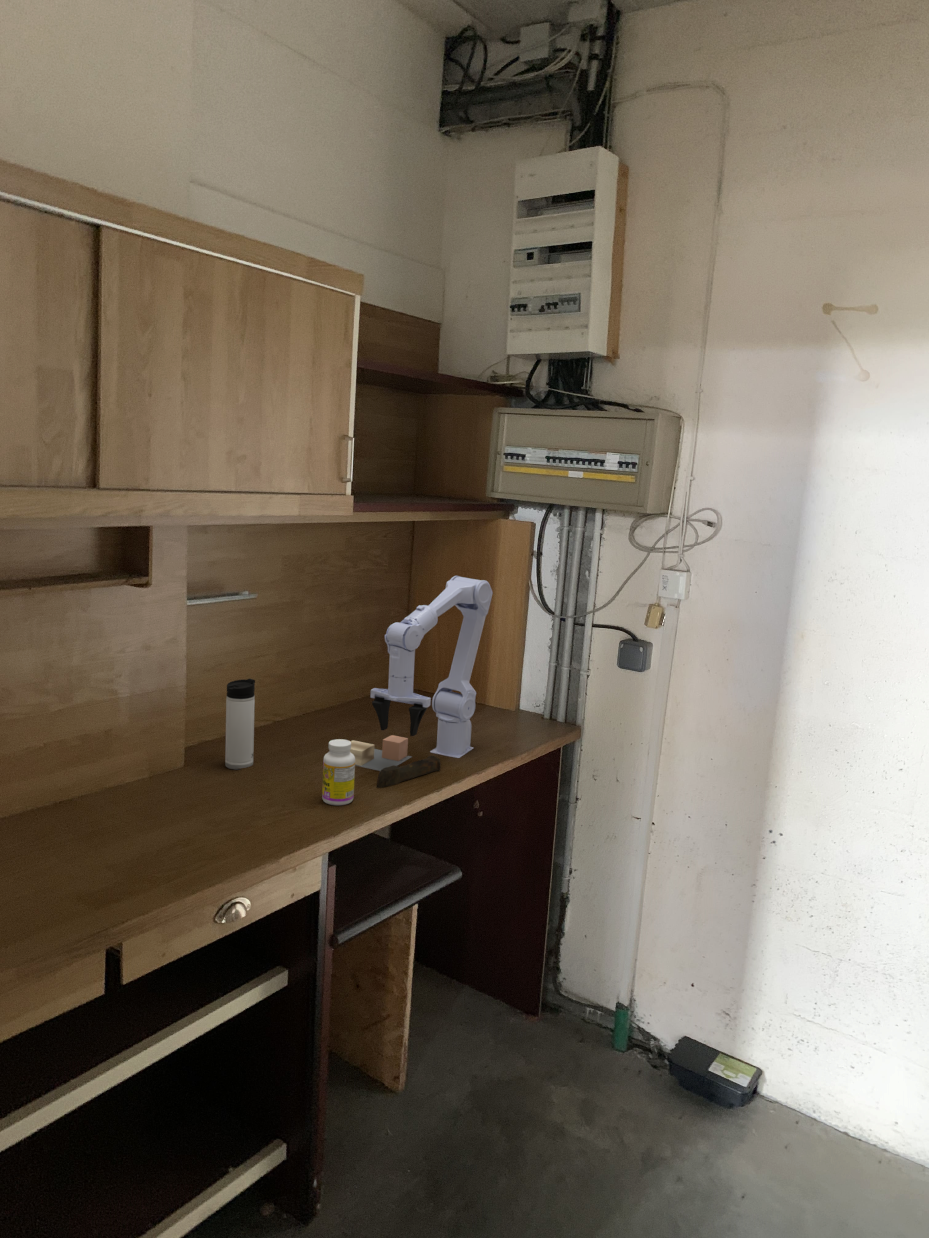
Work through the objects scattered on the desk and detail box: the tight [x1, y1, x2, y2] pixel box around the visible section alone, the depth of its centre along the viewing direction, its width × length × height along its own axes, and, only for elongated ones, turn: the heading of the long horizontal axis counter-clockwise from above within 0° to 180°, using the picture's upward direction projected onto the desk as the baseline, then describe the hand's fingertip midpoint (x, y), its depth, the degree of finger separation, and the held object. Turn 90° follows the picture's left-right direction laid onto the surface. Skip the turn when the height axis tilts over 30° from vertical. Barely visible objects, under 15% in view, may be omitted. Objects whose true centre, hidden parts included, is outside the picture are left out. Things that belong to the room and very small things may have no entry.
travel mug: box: [224, 678, 256, 771], centre depth 209 cm, size 6×7×20 cm
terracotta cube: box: [381, 734, 409, 761], centre depth 221 cm, size 4×4×4 cm
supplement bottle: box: [321, 738, 356, 806], centre depth 192 cm, size 7×7×13 cm
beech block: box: [349, 739, 375, 767], centre depth 217 cm, size 6×6×4 cm
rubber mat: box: [355, 748, 412, 772], centre depth 219 cm, size 13×14×1 cm
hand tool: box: [376, 755, 442, 789], centre depth 208 cm, size 19×4×5 cm, turn 137°
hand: (398, 732), depth 211 cm, fingers open, 7 cm apart
